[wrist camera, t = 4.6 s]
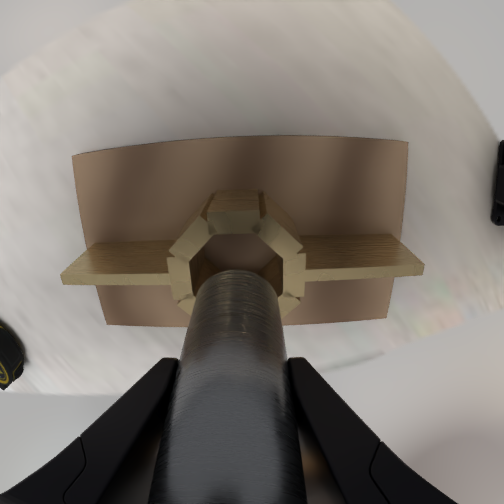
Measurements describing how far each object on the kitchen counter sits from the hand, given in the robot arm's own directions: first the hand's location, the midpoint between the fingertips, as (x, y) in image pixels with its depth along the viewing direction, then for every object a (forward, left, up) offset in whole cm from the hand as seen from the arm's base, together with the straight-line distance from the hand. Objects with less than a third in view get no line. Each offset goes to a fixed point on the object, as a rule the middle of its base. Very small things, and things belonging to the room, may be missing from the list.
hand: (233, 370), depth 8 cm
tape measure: (+25, +12, -13) cm, 31 cm away
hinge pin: (0, 0, -3) cm, 3 cm away
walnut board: (0, +1, -12) cm, 12 cm away
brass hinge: (0, +1, -11) cm, 11 cm away
